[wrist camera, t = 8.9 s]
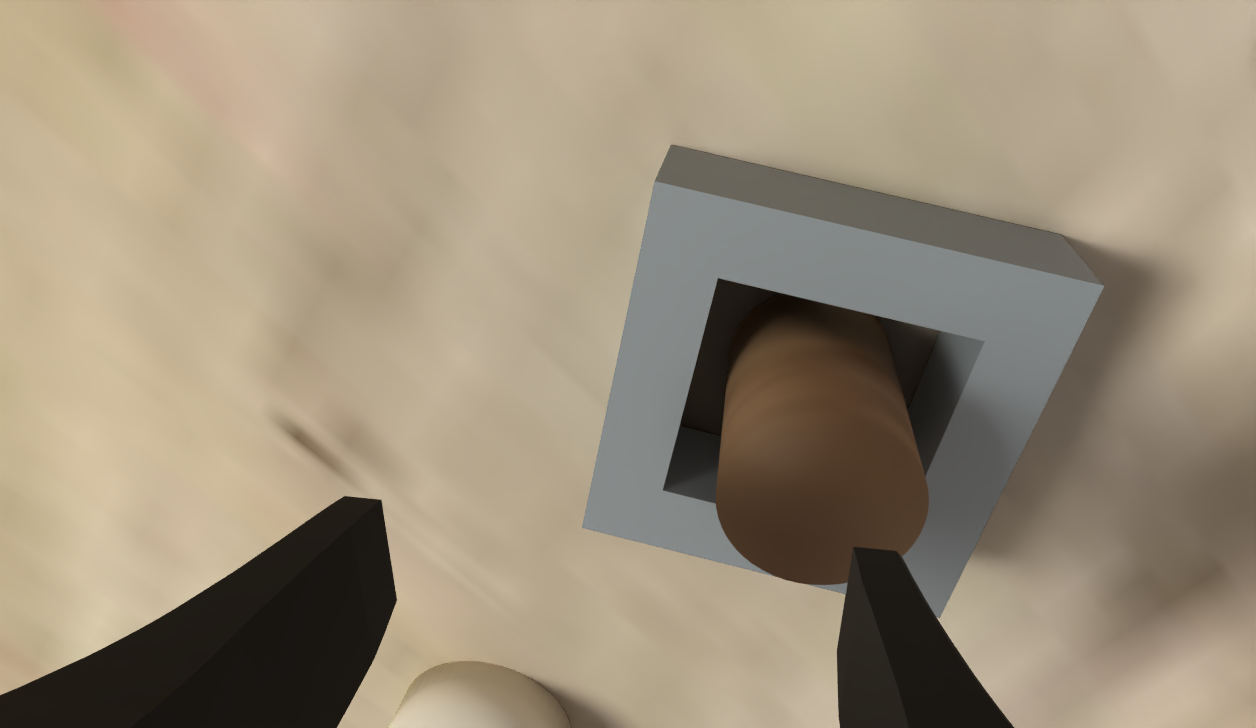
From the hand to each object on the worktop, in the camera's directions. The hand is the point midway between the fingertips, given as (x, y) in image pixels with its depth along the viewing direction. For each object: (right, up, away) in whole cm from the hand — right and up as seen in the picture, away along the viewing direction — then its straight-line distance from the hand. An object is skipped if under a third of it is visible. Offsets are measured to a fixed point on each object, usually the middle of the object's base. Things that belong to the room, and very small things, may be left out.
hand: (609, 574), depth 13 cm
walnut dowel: (+5, +3, +9) cm, 11 cm away
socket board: (+5, +3, +9) cm, 10 cm away
